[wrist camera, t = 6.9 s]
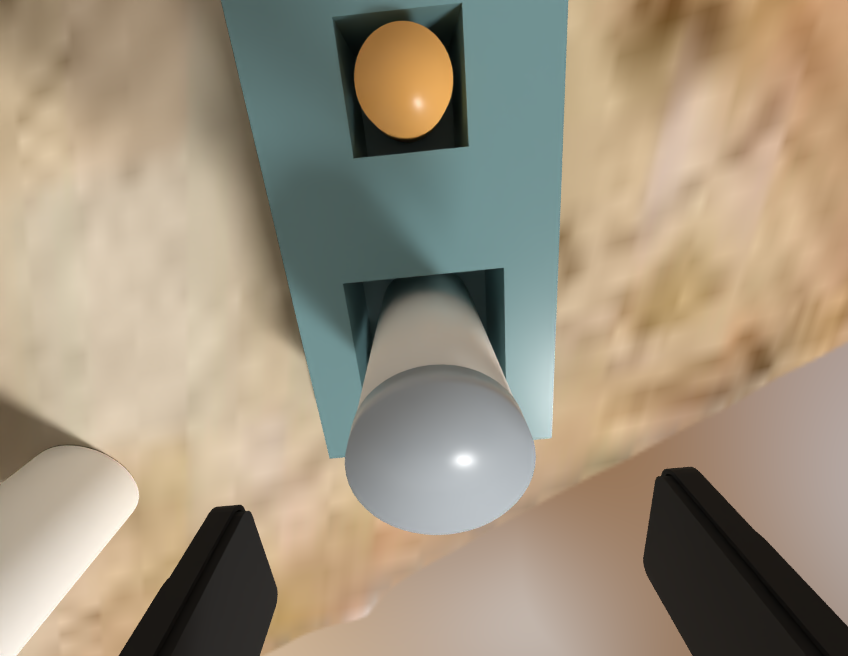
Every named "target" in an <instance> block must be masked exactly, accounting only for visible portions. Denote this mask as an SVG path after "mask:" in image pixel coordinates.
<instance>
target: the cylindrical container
mask: <svg viewBox="0 0 848 656" xmlns="http://www.w3.org/2000/svg"><path fill="white" fill-rule="evenodd" d="M138 500H139V492H138V487H137V485H136V482H135V480H134V479H133V477H132V475H131V474H130V473H129V472H128V471H127V470H126V468H124V467H123V466H122V465H121V464H120V463H119V462H117V461H116V460H114V459H113V458H111V457H109V456H108V455H106V454H103V453H101V452H99V451H97V450H93V449H90V448H86V447H81V446H74V445H63V446H57V447H52V448H50V449H47V450H45V451H43V452H42V453H40V454H38V455H37V456H36V457H34V458H33V459H32V460H31V461H29V462H28V463H27V464H25V465H24V466H23V467H22V468H20V469H19V470H18V471H16V472H15V473H14V474H12V475H11V476H10V477H9V478H7V479H6V480H5V481H3V482H2V483H1V484H0V656H16V655H17V654H18V653H19V652H20V650H21V649H22V648H23V647H24V646H25V644H26V643H27V642H28V641H29V639H30V638H31V637H32V636H33V634H34V633H35V632H36V631H37V630H38V628H39V627H40V626H41V625H42V623H43V622H44V621H45V620H46V618H47V617H48V616H49V615H50V614H51V612H52V611H53V610H54V609H55V607H56V606H57V605H58V604H59V602H60V601H61V600H62V599H63V597H64V596H65V595H66V594H67V593H68V591H69V590H70V589H71V588H72V586H73V585H74V584H75V583H76V581H77V580H78V579H79V578H80V577H81V575H82V574H83V573H84V572H85V570H86V569H87V568H88V567H89V565H90V564H91V563H92V562H93V561H94V559H95V558H96V557H97V556H98V554H99V553H100V552H101V551H102V549H103V548H104V547H105V546H106V544H107V543H108V542H109V541H110V540H111V538H112V537H113V536H114V535H115V533H116V532H117V531H118V530H119V528H120V527H121V526H122V525H123V524H124V522H125V521H126V520H127V519H128V517H129V516H130V515H131V514H132V512H133V511H134V510H135V508H136V506H137V504H138Z"/></svg>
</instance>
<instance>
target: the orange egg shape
mask: <svg viewBox="0 0 848 656" xmlns="http://www.w3.org/2000/svg"><path fill="white" fill-rule="evenodd" d="M354 83H355V90H356V95H357V98H358V101H359V103H360V105H361V108H362V109H363V111H364V113H365V114H366V115H367V117H368V118H369V119H370V120H371V121H372V122H373V123H374V124H375V125H376V126H377V127H378V128H379V129H380V130H381V131H382V132H383V133H384V134H385V135H386V136H388V137H389V138H391V139H393V140H395V141H399V142H404V143H411V142H416V141H419V140H421V139H423V138H425V137H426V136H428V135H429V134H430V133H431V132H432V131H433V130H434V129H435V127H436V126H437V124H438V123H439V121H440V119H441V117H442V116H443V114H444V112H445V110H446V108H447V106H448V104H449V101H450V98H451V94H452V88H453V71H452V65H451V61H450V58H449V55H448V53H447V51H446V49H445V47H444V45H443V44H442V42H441V41H440V40H439V39H438V37H437V36H436V35H435V34H434V33H433V32H431V31H430V30H429V29H427V28H426V27H424V26H422V25H420V24H418V23H414V22H411V21H395V22H390V23H388V24H385V25H383V26H381V27H379V28H378V29H376V30H375V31H374V32H373V33H372V34H371V35H370V36H369V37H368V38H367V39H366V41H365V42H364V44H363V45H362V47H361V49H360V51H359V54H358V56H357V60H356V64H355V70H354Z"/></svg>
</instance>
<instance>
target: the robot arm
mask: <svg viewBox="0 0 848 656" xmlns="http://www.w3.org/2000/svg"><path fill="white" fill-rule="evenodd" d="M643 563H644V568H645V571H646V574H647V576H648V578H649V580H650V582H651V583H652V585H653V587H654V589H655V590H656V592H657V594H658V595H659V597H660V599H661V601H662V603H663V604H664V606H665V608H666V610H667V611H668V613H669V615H670V616H671V619H672V620H673V622H674V624H675V625H676V627H677V629H678V631H679V633H680V634H681V636H682V638H683V640H684V641H685V643H686V645H687V647H688V648H689V650H690V652H691V654H692V655H693V656H848V626H847V625H846V624H845V623H844V622H843V621H842V620H841V619H840V618H839V617H838V616H837V615H836V614H835V613H834V612H833V610H832V609H831V608H830V607H829V606H828V605H827V604H826V603H825V602H824V601H823V600H822V599H821V598H820V597H819V596H818V595H817V594H816V593H815V591H814V590H812V588H811V587H810V586H809V585H808V584H807V583H806V582H805V581H804V580H803V579H802V578H801V577H800V576H799V575H798V574H797V572H795V570H794V569H793V568H792V567H791V566H790V565H789V564H788V563H787V562H786V561H785V560H784V559H783V558H782V557H781V556H780V555H779V553H778V552H777V551H776V550H775V549H774V548H773V547H772V546H771V545H770V544H769V543H768V542H767V541H766V540H765V539H764V538H763V537H762V536H761V535H760V534H758V533H757V532H756V531H755V530H754V529H753V528H752V527H751V526H750V525H749V524H748V523H747V522H746V521H745V520H744V519H743V518H742V517H741V515H739V514H738V512H737V511H736V510H735V509H734V508H733V507H732V506H731V505H730V504H729V503H728V502H727V500H726V499H725V498H724V497H723V496H722V495H721V494H720V493H719V492H718V491H717V490H716V489H715V488H714V487H713V486H712V485H711V484H710V482H709V481H708V480H707V479H706V478H705V477H704V476H703V475H702V474H701V473H700V472H699V471H698V470H697V469H695V468H693V467H683V468H671V469H664V471H663V472H662V475H661V476H658V477H657V478H656V480H655V486H654V492H653V499H652V506H651V512H650V519H649V526H648V531H647V538H646V544H645V551H644V557H643ZM277 595H278V594H277V587H276V584H275V581H274V578H273V575H272V572H271V569H270V566H269V563H268V560H267V557H266V554H265V551H264V548H263V546H262V543H261V540H260V537H259V534H258V531H257V528H256V525H255V522H254V519H253V516H252V514H251V512H250V511H245V509H244V507H243V506H242V505H233V506H221V507H215V508H213V509H212V510H211V512H210V513H209V514H208V516H207V518H206V519H205V521H204V522H203V524H202V526H201V527H200V529H199V531H198V532H197V534H196V535H195V537H194V539H193V540H192V542H191V544H190V545H189V547H188V548H187V550H186V552H185V553H184V555H183V557H182V558H181V560H180V561H179V563H178V565H177V566H176V568H175V569H174V571H173V573H172V574H171V576H170V578H168V579H167V580H166V582H165V583H164V584H163V586H162V587H161V589H160V590H159V592H158V593H157V595H156V597H155V598H154V600H153V601H152V603H151V605H150V606H149V608H148V609H147V611H146V613H145V614H144V616H143V617H142V619H141V621H140V622H139V624H138V626H137V627H136V629H135V630H134V632H133V634H132V635H131V637H130V638H129V640H128V642H127V643H126V645H125V646H124V648H123V650H122V651H121V653H120V654H119V656H260V653H261V650H262V647H263V644H264V641H265V638H266V635H267V632H268V629H269V626H270V623H271V619H272V616H273V613H274V610H275V607H276V603H277Z"/></svg>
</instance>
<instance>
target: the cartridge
mask: <svg viewBox="0 0 848 656" xmlns="http://www.w3.org/2000/svg"><path fill="white" fill-rule="evenodd" d="M535 460H536V454H535V445H534V441H533V437H532V435H531V433H530V430H529V428H528V425H527V423H526V421H525V419H524V416H523V414H522V412H521V409H520V407H519V405H518V404H517V402H516V400H515V399H514V397H513V395H512V393H511V390H510V388H509V386H508V383H507V381H506V379H505V376H504V374H503V372H502V369H501V367H500V365H499V362H498V360H497V358H496V355H495V353H494V350H493V348H492V346H491V343H490V341H489V339H488V336H487V334H486V332H485V329H484V327H483V325H482V322H481V320H480V318H479V315H478V313H477V311H476V308H475V306H474V303H473V301H472V299H471V296H470V294H469V292H468V289H467V288H466V286H465V284H464V283H463V282H462V281H461V279H460V278H458V277H457V276H456V275H455V274H453V273H445V274H435V275H425V276H415V277H405V278H395V279H394V280H393V281H392V282H391V283H390V285H389V286H388V288H387V290H386V292H385V294H384V297H383V302H382V306H381V310H380V314H379V319H378V323H377V327H376V332H375V336H374V340H373V345H372V349H371V353H370V358H369V362H368V366H367V370H366V375H365V379H364V383H363V388H362V392H361V396H360V401H359V405H358V409H357V412H356V414H355V417H354V420H353V423H352V427H351V431H350V435H349V440H348V444H347V449H346V454H345V470H346V476H347V479H348V482H349V485H350V487H351V489H352V491H353V493H354V495H355V496H356V498H357V499H358V501H359V502H360V503H361V504H362V505H363V506H364V507H365V508H366V509H367V510H368V511H369V512H370V513H371V514H373V515H374V516H375V517H377V518H379V519H380V520H382V521H383V522H385V523H387V524H389V525H391V526H394V527H396V528H399V529H402V530H405V531H409V532H413V533H420V534H429V535H445V534H454V533H460V532H465V531H469V530H472V529H475V528H478V527H481V526H483V525H485V524H487V523H490V522H491V521H493V520H495V519H497V518H498V517H500V516H501V515H503V514H504V513H505V512H507V511H508V510H509V509H510V508H511V507H512V506H513V505H515V504H516V503H517V501H518V500H519V499H520V498H521V496H522V495H523V494H524V492H525V491H526V489H527V487H528V486H529V483H530V481H531V479H532V476H533V472H534V468H535Z"/></svg>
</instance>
